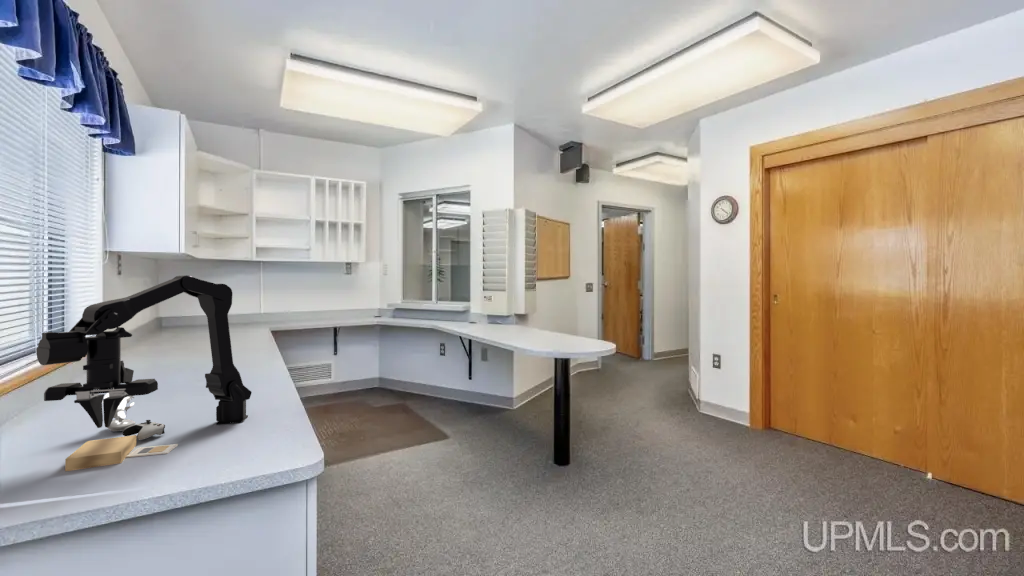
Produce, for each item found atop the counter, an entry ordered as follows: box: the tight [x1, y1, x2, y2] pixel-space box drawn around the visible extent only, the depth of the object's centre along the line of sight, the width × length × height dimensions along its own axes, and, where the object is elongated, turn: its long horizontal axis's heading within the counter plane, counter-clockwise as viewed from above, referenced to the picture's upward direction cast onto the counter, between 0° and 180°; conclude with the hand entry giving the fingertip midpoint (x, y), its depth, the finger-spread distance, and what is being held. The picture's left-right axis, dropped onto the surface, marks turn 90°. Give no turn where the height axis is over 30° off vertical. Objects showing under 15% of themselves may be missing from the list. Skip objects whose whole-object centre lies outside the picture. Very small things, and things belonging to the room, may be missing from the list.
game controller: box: [121, 419, 166, 441], centre depth 115 cm, size 10×5×6 cm
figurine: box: [103, 388, 137, 433], centre depth 120 cm, size 9×6×12 cm
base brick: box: [64, 434, 137, 472], centre depth 101 cm, size 9×13×3 cm
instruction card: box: [125, 443, 179, 459], centre depth 105 cm, size 8×6×1 cm
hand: (103, 427), depth 101 cm, fingers closed
